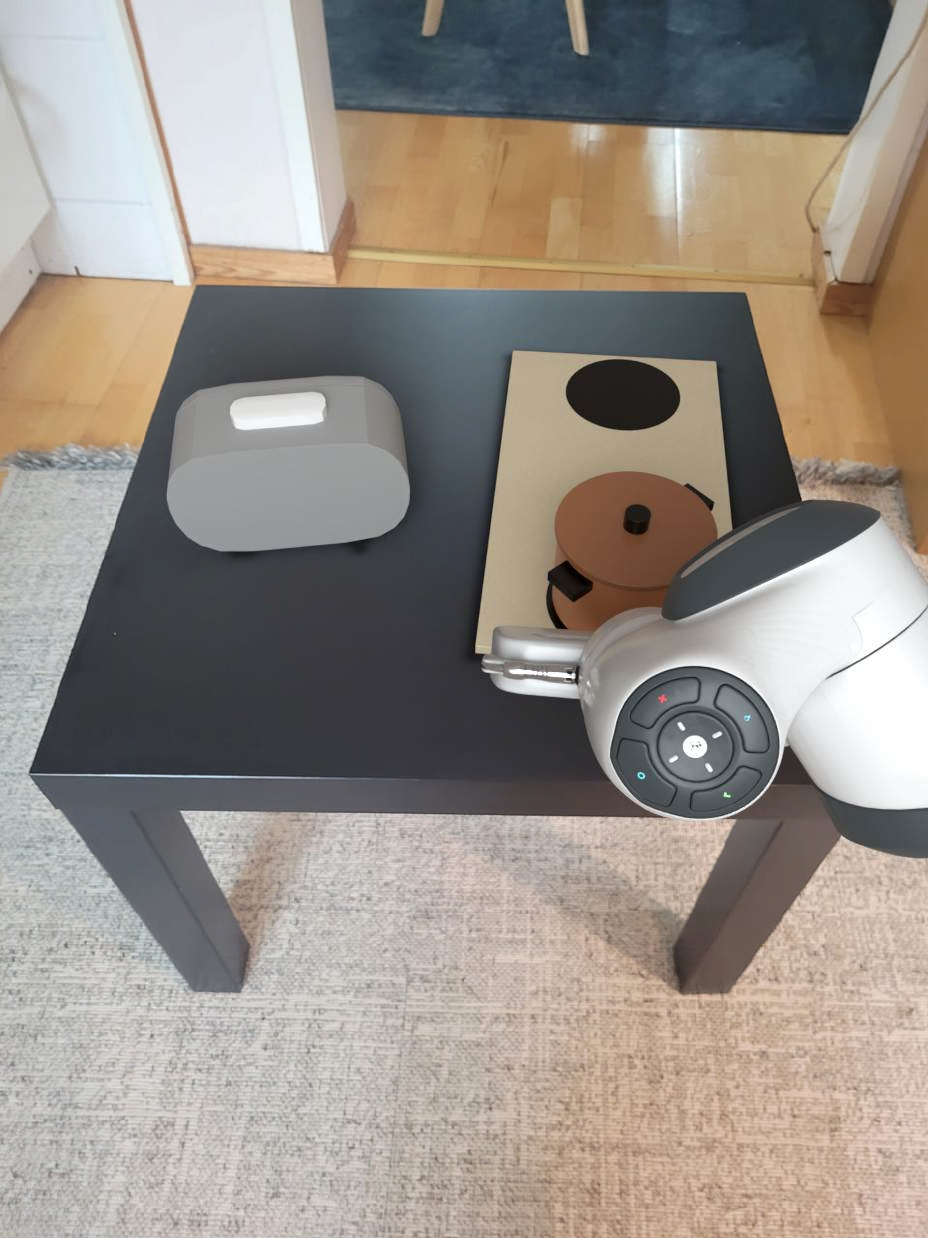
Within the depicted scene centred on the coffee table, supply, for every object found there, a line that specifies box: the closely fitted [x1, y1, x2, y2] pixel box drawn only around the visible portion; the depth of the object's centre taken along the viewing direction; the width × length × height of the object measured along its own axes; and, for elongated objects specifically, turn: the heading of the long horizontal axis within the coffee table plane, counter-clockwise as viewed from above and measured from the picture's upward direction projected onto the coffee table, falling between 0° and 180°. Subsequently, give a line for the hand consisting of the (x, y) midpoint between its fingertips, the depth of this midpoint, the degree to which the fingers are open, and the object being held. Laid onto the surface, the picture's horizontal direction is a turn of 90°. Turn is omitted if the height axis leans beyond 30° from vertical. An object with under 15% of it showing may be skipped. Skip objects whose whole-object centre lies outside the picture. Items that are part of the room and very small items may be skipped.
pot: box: [547, 471, 718, 632], centre depth 76 cm, size 16×13×11 cm
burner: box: [566, 359, 680, 431], centre depth 98 cm, size 12×12×1 cm
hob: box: [474, 349, 733, 655], centre depth 90 cm, size 22×41×1 cm, turn 174°
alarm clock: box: [166, 375, 411, 552], centre depth 83 cm, size 21×10×13 cm, turn 97°
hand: (630, 650), depth 69 cm, fingers closed
